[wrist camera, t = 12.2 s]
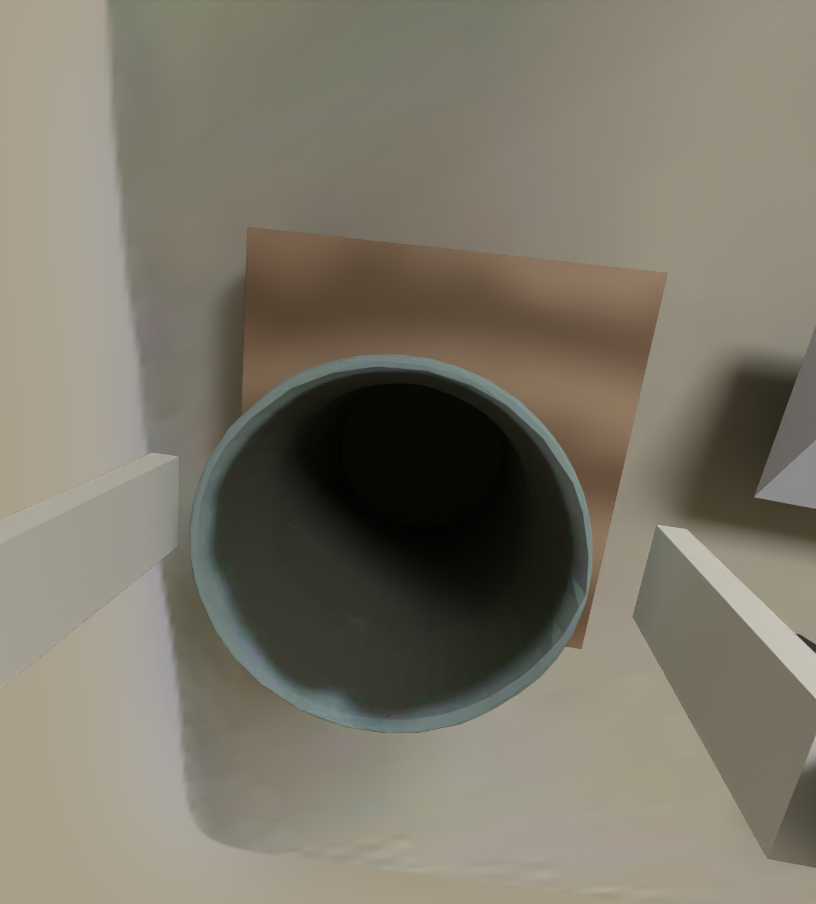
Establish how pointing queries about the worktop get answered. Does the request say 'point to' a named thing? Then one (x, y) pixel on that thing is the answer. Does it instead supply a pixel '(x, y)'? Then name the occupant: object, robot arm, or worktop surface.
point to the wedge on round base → (795, 443)
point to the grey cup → (391, 543)
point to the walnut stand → (466, 335)
